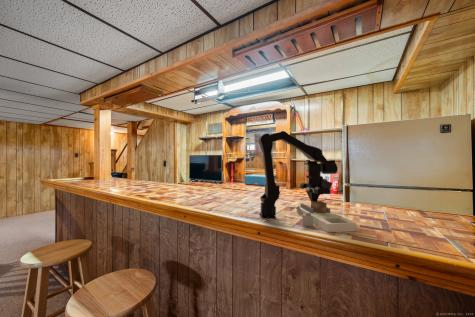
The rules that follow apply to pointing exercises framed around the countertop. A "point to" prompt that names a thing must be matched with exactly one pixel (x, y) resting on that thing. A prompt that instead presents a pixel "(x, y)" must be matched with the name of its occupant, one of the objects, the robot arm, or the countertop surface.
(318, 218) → the pale grey tray
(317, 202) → the block
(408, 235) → the countertop surface
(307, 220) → the lighter
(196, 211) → the countertop surface
